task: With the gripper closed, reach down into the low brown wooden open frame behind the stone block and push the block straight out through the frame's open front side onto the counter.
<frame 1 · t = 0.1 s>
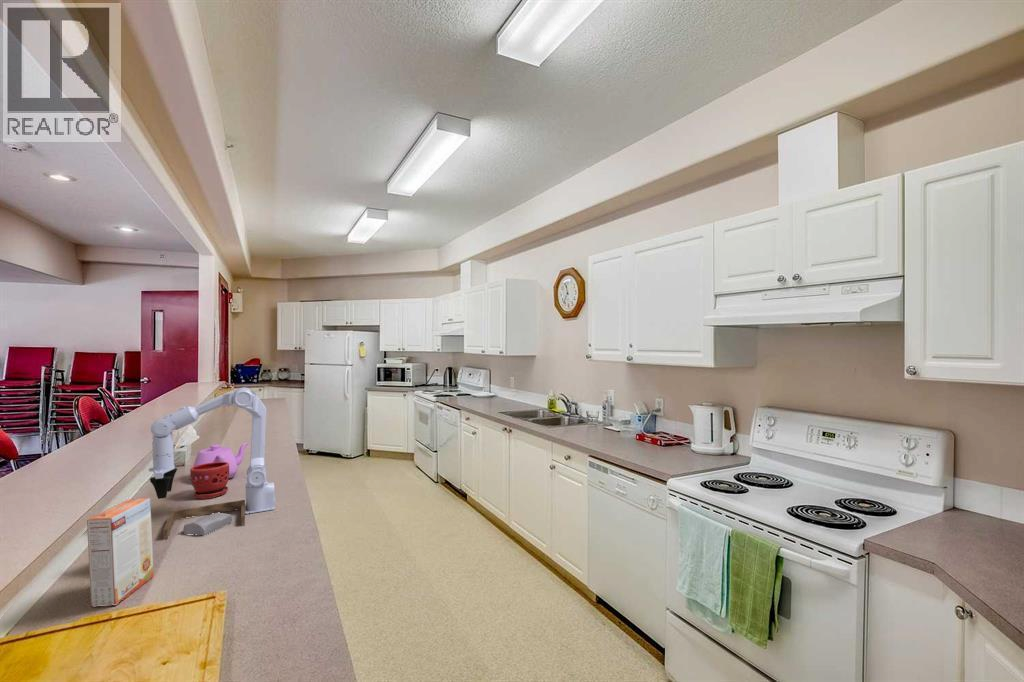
hand: (164, 494, 163), 10 cm above the countertop, tool pointing down, fingers open, 7 cm apart
brown wooden open frame: (207, 523, 164), on the countertop
stone block: (206, 529, 160), on the countertop
cracker box: (123, 592, 120), on the countertop
plant pot: (210, 495, 194), on the countertop
teapot: (217, 478, 217), on the countertop
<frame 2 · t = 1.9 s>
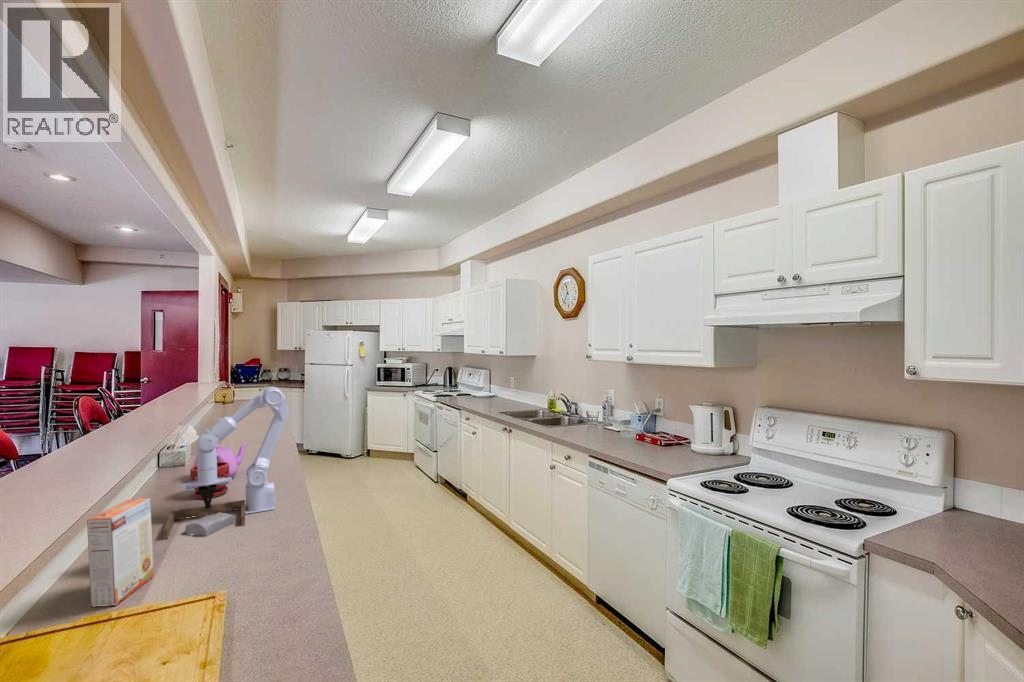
hand: (208, 507, 169), 4 cm above the countertop, tool pointing down, fingers closed
nothing on the countertop moved.
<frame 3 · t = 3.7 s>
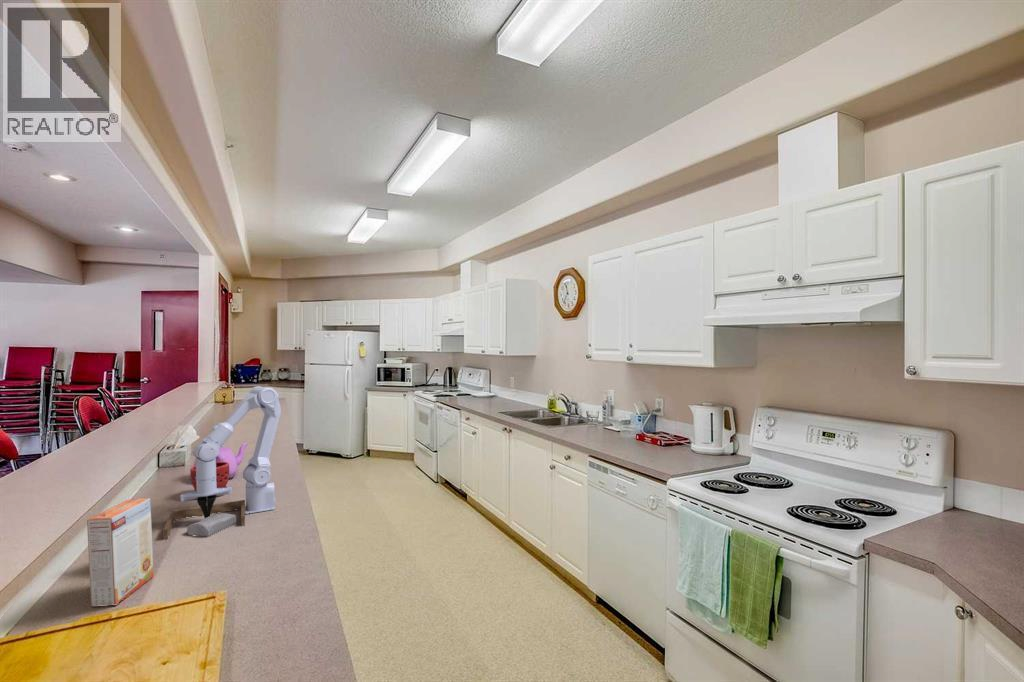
hand: (207, 518, 164), 1 cm above the countertop, tool pointing down, fingers closed
stone block: (210, 530, 159), on the countertop, touching gripper
everything else where it was.
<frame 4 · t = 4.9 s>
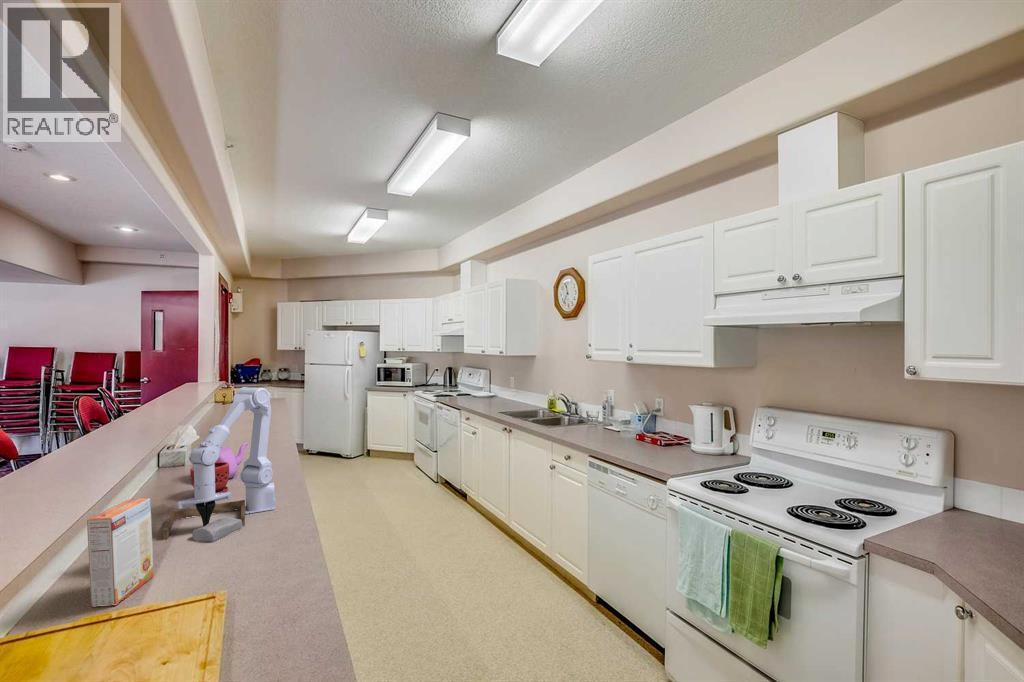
hand: (205, 525, 158), 1 cm above the countertop, tool pointing down, fingers closed
stone block: (216, 535, 155), on the countertop
everything else where it was.
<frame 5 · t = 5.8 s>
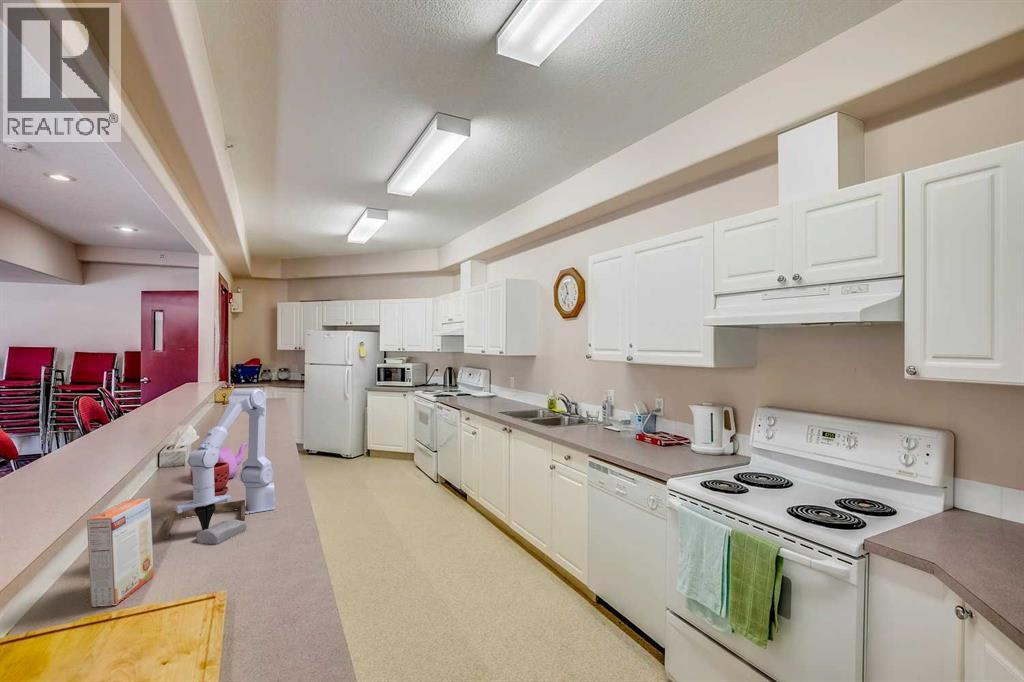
hand: (205, 529, 155), 1 cm above the countertop, tool pointing down, fingers closed
stone block: (220, 537, 153), on the countertop
everything else where it was.
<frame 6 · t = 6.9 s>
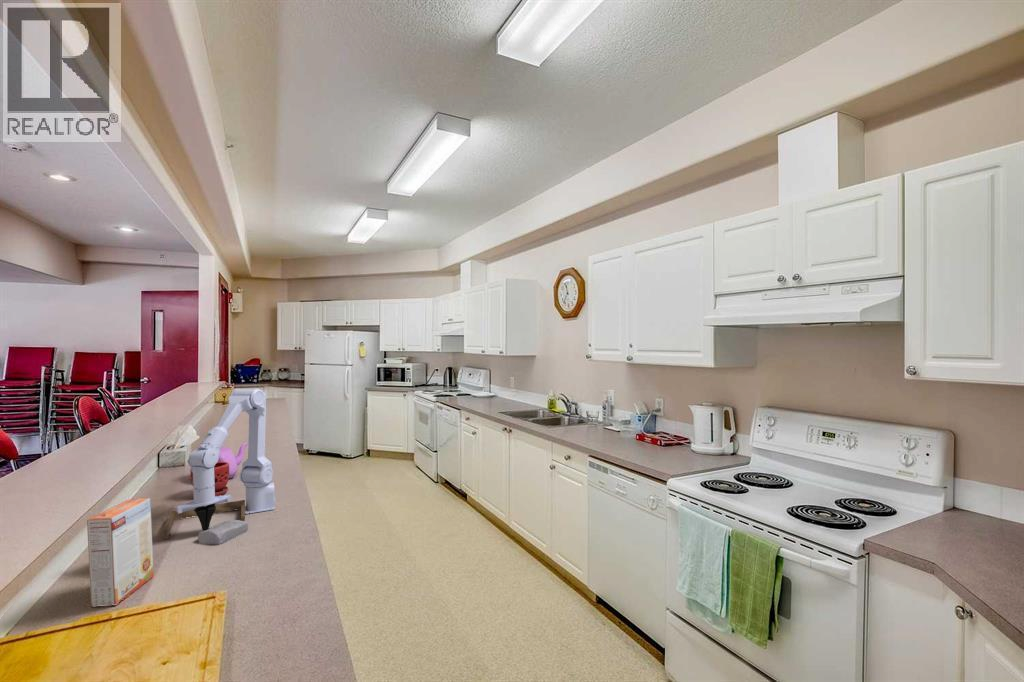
hand: (205, 529, 155), 1 cm above the countertop, tool pointing down, fingers closed
nothing on the countertop moved.
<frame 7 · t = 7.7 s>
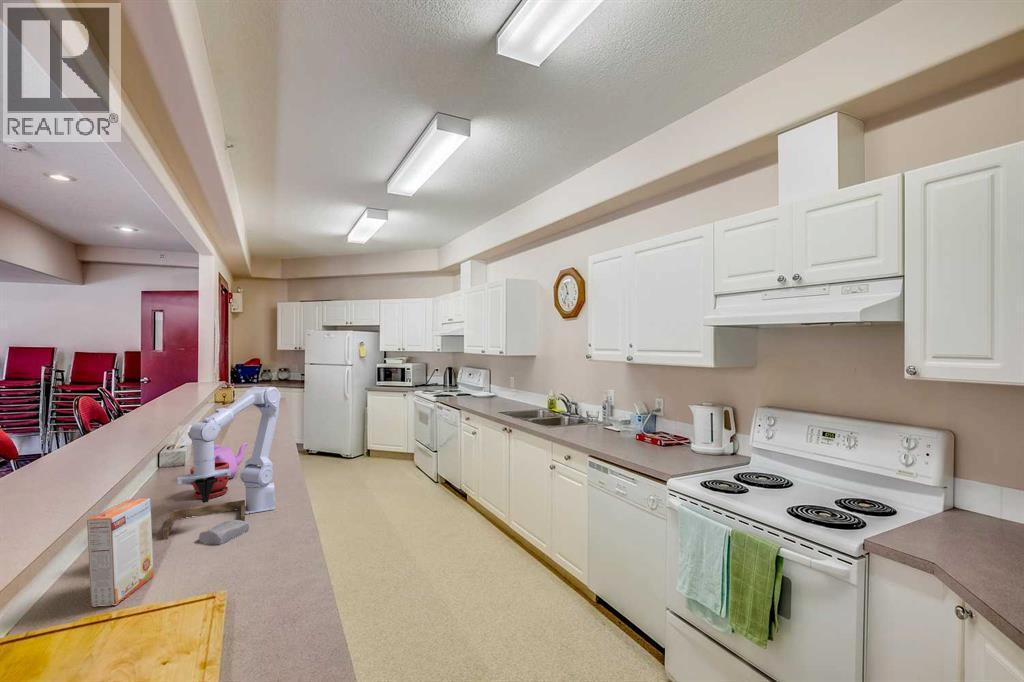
hand: (205, 501, 158), 9 cm above the countertop, tool pointing down, fingers closed
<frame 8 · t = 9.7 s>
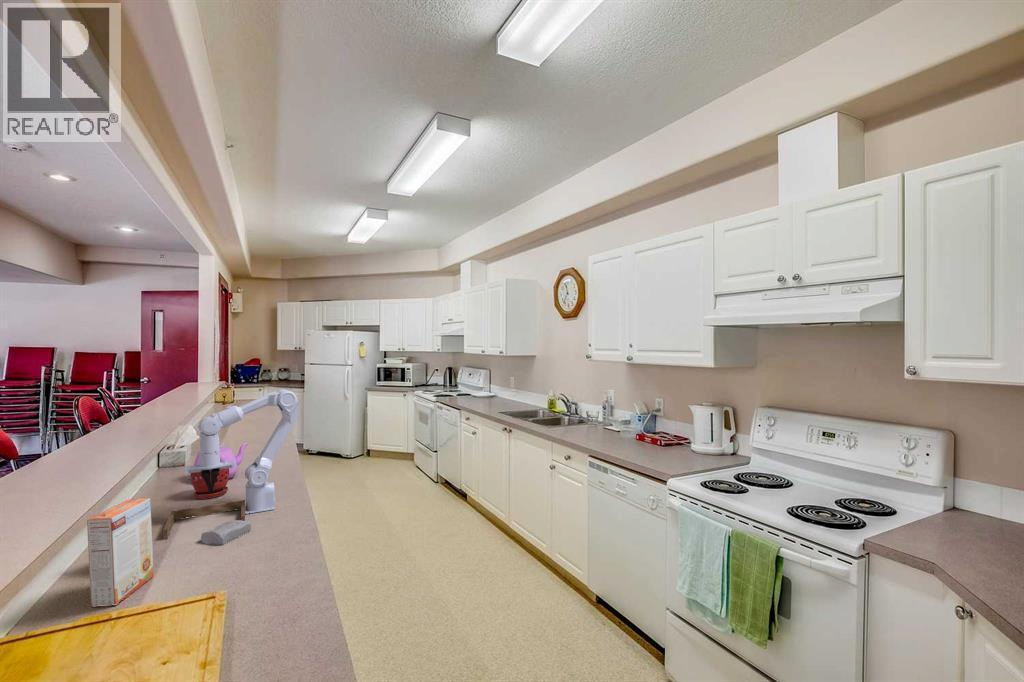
hand: (211, 491, 168), 9 cm above the countertop, tool pointing down, fingers closed
at the end: stone block inside the target area (6.9 cm from its centre), on the countertop; stone block tilted 1°; stone block touching countertop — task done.
